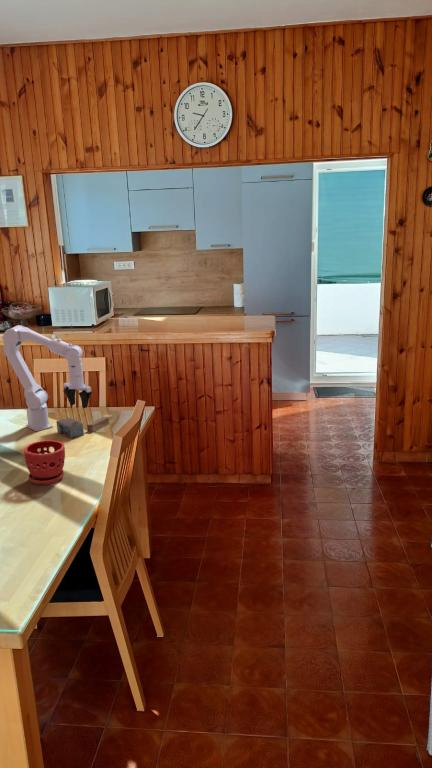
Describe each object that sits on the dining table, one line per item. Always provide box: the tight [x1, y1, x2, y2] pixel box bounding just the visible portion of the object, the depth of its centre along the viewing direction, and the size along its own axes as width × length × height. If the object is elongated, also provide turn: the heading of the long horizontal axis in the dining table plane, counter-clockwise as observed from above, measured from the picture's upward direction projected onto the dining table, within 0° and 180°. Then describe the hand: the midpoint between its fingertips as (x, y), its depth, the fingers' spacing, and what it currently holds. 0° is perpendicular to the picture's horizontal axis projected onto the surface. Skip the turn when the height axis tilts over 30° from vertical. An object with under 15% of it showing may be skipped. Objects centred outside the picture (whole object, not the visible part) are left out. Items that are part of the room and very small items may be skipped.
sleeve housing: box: [56, 417, 85, 439], centre depth 244 cm, size 11×6×5 cm, turn 42°
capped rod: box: [86, 414, 114, 433], centre depth 252 cm, size 3×14×3 cm, turn 155°
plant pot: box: [23, 439, 66, 485], centre depth 200 cm, size 13×13×12 cm
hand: (79, 406), depth 249 cm, fingers open, 7 cm apart
